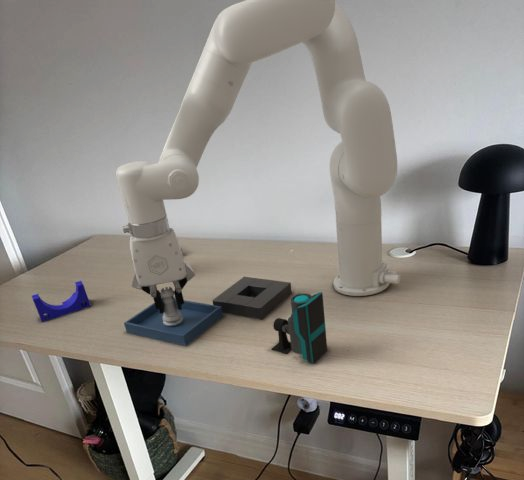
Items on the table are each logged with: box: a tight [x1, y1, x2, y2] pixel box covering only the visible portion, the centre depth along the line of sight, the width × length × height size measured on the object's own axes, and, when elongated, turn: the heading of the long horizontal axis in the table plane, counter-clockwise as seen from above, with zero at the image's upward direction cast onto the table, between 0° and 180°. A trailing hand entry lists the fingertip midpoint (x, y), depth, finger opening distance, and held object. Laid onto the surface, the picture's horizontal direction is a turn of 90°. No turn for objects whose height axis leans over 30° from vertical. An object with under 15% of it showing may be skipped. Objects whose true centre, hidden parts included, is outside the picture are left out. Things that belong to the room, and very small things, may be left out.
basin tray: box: [123, 298, 224, 347], centre depth 115 cm, size 17×13×2 cm
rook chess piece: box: [160, 286, 183, 326], centre depth 113 cm, size 4×4×8 cm
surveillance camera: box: [271, 291, 328, 364], centre depth 95 cm, size 6×12×10 cm
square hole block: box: [211, 276, 293, 320], centre depth 118 cm, size 13×13×3 cm
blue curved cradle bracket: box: [31, 280, 92, 323], centre depth 129 cm, size 12×4×6 cm, turn 117°
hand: (171, 308), depth 113 cm, fingers closed on rook chess piece, 3 cm apart
